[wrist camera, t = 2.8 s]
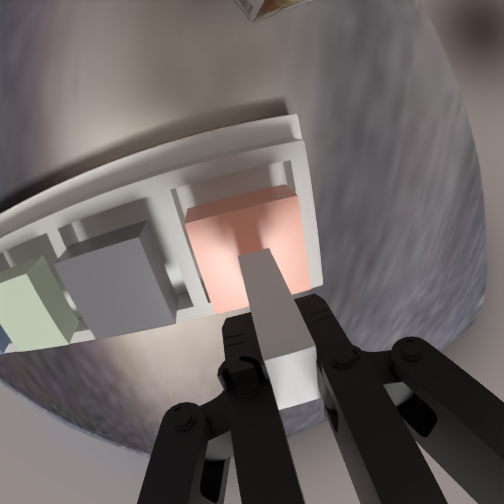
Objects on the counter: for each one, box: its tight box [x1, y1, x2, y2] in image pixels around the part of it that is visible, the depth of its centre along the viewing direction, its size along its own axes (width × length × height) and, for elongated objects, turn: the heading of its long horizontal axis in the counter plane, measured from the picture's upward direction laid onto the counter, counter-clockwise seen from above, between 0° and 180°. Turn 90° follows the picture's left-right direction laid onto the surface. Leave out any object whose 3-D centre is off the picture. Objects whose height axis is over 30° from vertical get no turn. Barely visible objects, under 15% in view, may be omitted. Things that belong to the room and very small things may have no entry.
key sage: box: [0, 255, 79, 352], centre depth 15 cm, size 6×6×2 cm
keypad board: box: [0, 114, 323, 353], centre depth 19 cm, size 13×34×4 cm, turn 102°
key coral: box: [185, 184, 311, 314], centre depth 16 cm, size 6×6×2 cm
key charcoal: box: [54, 220, 178, 340], centre depth 16 cm, size 6×6×2 cm
